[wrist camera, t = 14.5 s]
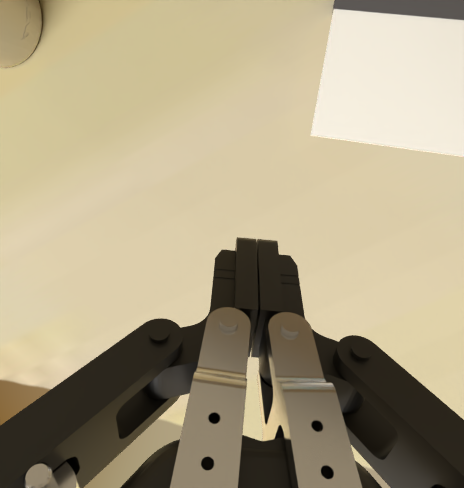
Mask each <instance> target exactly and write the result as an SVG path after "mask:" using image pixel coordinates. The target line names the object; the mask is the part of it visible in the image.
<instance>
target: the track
mask: <svg viewBox="0 0 464 488" xmlns="http://www.w3.org/2000/svg"><path fill="white" fill-rule="evenodd" d="M332 15H333V16H332V21H331V27H330V32H329V37H328V43H327V48H326V54H325V59H324V65H323V70H322V76H321V81H320V87H319V92H318V98H317V103H316V109H315V114H314V119H313V125H312V130H311V136H317V137H324V138H331V139H338V140H345V141H353V142H360V143H367V144H374V145H381V146H388V147H396V148H403V149H410V150H417V151H424V152H431V153H439V154H446V155H453V156H460V157H464V0H335V1H334V7H333V14H332Z"/></svg>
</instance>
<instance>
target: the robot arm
mask: <svg viewBox="0 0 464 488" xmlns="http://www.w3.org/2000/svg"><path fill="white" fill-rule="evenodd" d="M41 27H42V15H41V8H40V4H39V0H0V67H2V68H7V67H14V66H16V65H19V64H21V63H22V62H24V61H25V60H26V59H28V57H29V56H30V55H31V54H32V53H33V51H34V49H35V48H36V46H37V44H38V41H39V38H40V34H41ZM299 285H300V283H299V278H298V269H297V265H296V263H295V262H294V261H293V259H292V258H291V256H288V255H279V253H278V243H277V241H272V240H261V239H257V242H256V239H249V238H238V237H237V240H236V248H235V251H231V250H221V251H220V253H219V254H218V255H217V257H216V258H215V267H214V277H213V287H212V297H211V307H210V312H209V314H208V315H207V317H206V318H205V319H204V320H203V321H201V322H200V323H198V324H195V325H192V326H187V327H182V328H180V327H179V325H177V324H176V323H175V322H173V321H171V320H168V319H153V320H150V321H148V322H146V323H144V324H143V325H141V326H140V327H139V328H137V329H136V330H134V331H133V332H132V333H130V334H129V335H127V336H126V337H125V338H123V339H122V340H120V341H119V342H118V343H116V344H115V345H113V346H112V347H110V348H109V349H108V350H106V351H105V352H103V353H102V354H101V355H99V356H98V357H96V358H95V359H94V360H92V361H91V362H89V363H88V364H87V365H85V366H84V367H82V368H81V369H79V370H78V371H77V372H75V373H74V374H72V375H71V376H70V377H68V378H67V379H65V380H64V381H63V382H61V383H60V384H58V385H57V386H56V387H54V388H53V389H51V390H50V391H48V392H47V393H46V394H45V395H43V396H41V397H40V398H39V399H37V400H36V401H35V402H33V403H32V404H30V405H29V406H27V407H26V408H25V409H23V410H22V411H20V412H19V413H18V414H16V415H15V416H13V417H12V418H10V419H9V420H8V421H6V422H5V423H4V424H2V425H1V426H0V488H83V487H84V486H85V485H86V484H88V483H89V482H90V480H92V479H93V478H94V477H95V476H96V475H97V474H98V473H99V472H100V471H102V470H103V469H104V468H105V467H106V466H107V465H108V464H109V463H110V462H111V461H112V460H113V459H114V458H116V457H117V456H118V455H119V454H120V453H121V452H122V451H123V450H124V449H125V448H126V447H127V446H128V445H130V444H131V443H132V442H133V441H134V440H135V439H136V438H137V437H138V436H139V435H140V434H141V433H142V432H144V431H145V430H146V429H147V428H148V427H149V426H150V425H151V424H152V423H153V422H154V421H155V420H156V419H158V418H159V417H160V416H161V415H162V414H163V413H164V412H165V411H166V410H167V409H168V408H169V407H170V406H172V405H173V404H174V403H175V402H176V401H177V400H178V398H179V397H180V395H184V394H188V393H190V395H189V399H188V404H187V409H186V414H185V418H184V423H183V428H182V433H181V437H180V439H179V440H176V441H173V442H171V443H169V444H167V445H165V446H164V447H162V448H160V449H159V450H157V451H156V452H155V453H154V454H153V455H151V456H150V457H149V458H148V459H147V460H146V461H145V462H144V463H143V464H142V465H141V466H140V467H139V469H138V470H137V471H136V472H135V473H134V474H133V475H132V476H131V477H130V478H129V479H128V480H127V481H126V482H125V483H124V484H123V485H122V487H121V488H382V487H381V486H380V485H379V484H378V483H377V482H376V480H375V479H374V478H373V477H372V476H371V474H370V473H368V471H366V469H365V468H364V467H362V466H361V465H360V464H359V463H358V462H356V461H355V459H354V455H353V452H352V448H351V445H352V446H353V447H354V448H355V449H356V450H357V451H358V452H359V454H360V455H361V456H362V457H363V458H364V459H365V460H366V461H367V462H368V463H369V464H370V466H371V467H372V468H373V469H374V470H375V471H376V472H377V473H378V474H379V475H380V476H381V477H382V479H383V480H384V481H385V482H386V483H387V484H388V485H389V486H390V487H391V488H464V420H463V419H462V418H461V417H460V416H459V415H457V414H456V413H455V412H454V411H453V410H451V409H450V408H449V407H448V406H447V405H446V404H444V403H443V402H442V401H441V400H440V399H439V398H437V397H436V396H435V395H434V394H433V393H432V392H430V391H429V390H428V389H427V388H426V387H425V386H423V385H422V384H421V383H420V382H419V381H418V380H416V379H415V378H414V377H413V376H412V375H411V374H409V373H408V372H407V371H406V370H405V369H403V368H402V367H401V366H400V365H399V364H398V363H396V362H395V361H394V360H393V359H392V358H391V357H389V356H388V355H387V354H386V353H385V352H384V351H382V350H381V349H380V348H379V347H378V346H377V345H375V344H374V343H373V342H372V341H370V340H368V339H366V338H364V337H361V336H353V335H352V336H346V337H344V338H342V339H341V340H340V341H339V342H338V341H335V340H332V339H329V338H326V337H324V336H321V335H320V334H318V333H316V332H315V331H314V330H313V329H311V326H310V324H309V323H308V322H307V320H305V316H304V310H303V303H302V297H301V290H300V286H299ZM250 352H251V357H258V358H259V370H258V375H257V383H258V392H259V402H260V411H261V421H262V441H259V440H255V439H252V438H250V437H247V436H244V435H242V433H243V421H244V410H245V398H246V387H247V379H246V372H247V361H248V357H250Z"/></svg>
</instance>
